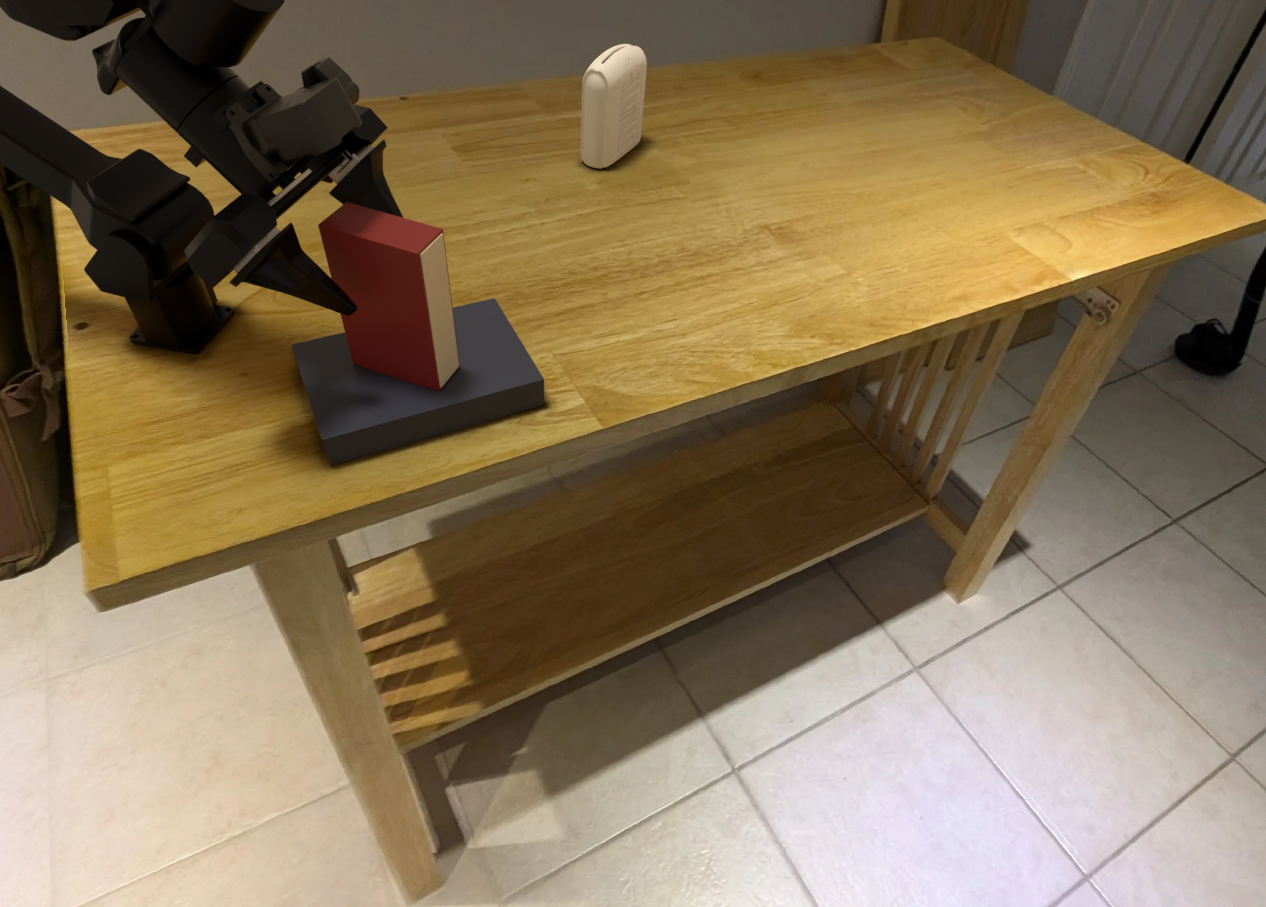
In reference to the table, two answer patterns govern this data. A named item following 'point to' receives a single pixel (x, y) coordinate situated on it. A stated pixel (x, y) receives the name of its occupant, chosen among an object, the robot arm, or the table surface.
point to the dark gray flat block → (418, 388)
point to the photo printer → (612, 105)
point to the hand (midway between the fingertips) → (384, 277)
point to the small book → (393, 293)
